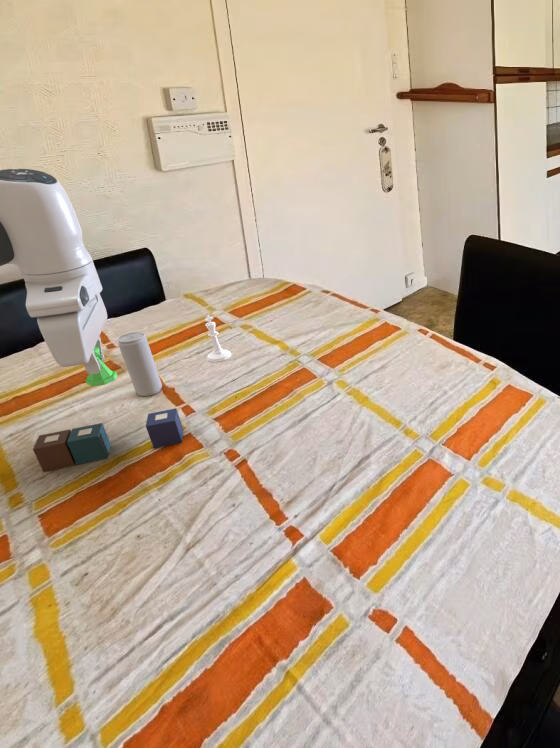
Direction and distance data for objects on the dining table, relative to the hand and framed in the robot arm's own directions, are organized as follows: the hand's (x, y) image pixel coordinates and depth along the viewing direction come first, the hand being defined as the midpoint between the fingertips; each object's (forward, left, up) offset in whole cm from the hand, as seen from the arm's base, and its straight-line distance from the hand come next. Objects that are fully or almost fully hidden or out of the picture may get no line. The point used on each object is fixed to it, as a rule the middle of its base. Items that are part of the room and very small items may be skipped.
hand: (96, 367), depth 99 cm
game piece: (0, 0, -2) cm, 3 cm away
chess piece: (+14, +33, -16) cm, 40 cm away
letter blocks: (-3, +1, -16) cm, 16 cm away
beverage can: (+1, +22, -16) cm, 28 cm away
